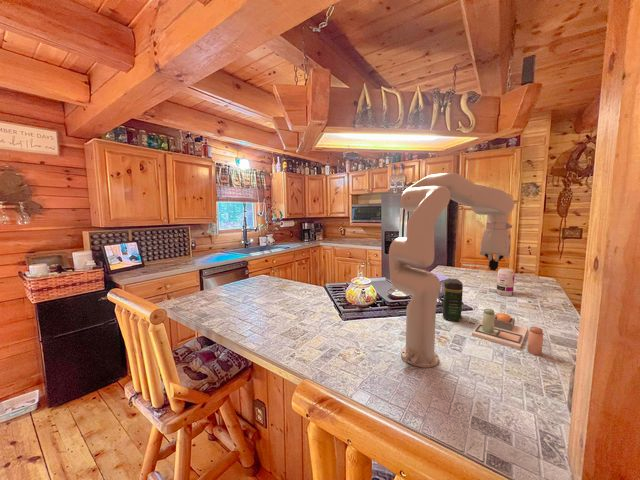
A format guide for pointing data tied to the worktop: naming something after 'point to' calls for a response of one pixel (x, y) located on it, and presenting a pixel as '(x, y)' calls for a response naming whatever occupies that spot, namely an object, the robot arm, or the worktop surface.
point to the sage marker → (488, 321)
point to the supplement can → (505, 282)
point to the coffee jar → (452, 299)
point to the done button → (503, 317)
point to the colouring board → (503, 333)
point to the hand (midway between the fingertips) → (493, 269)
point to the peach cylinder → (535, 341)
